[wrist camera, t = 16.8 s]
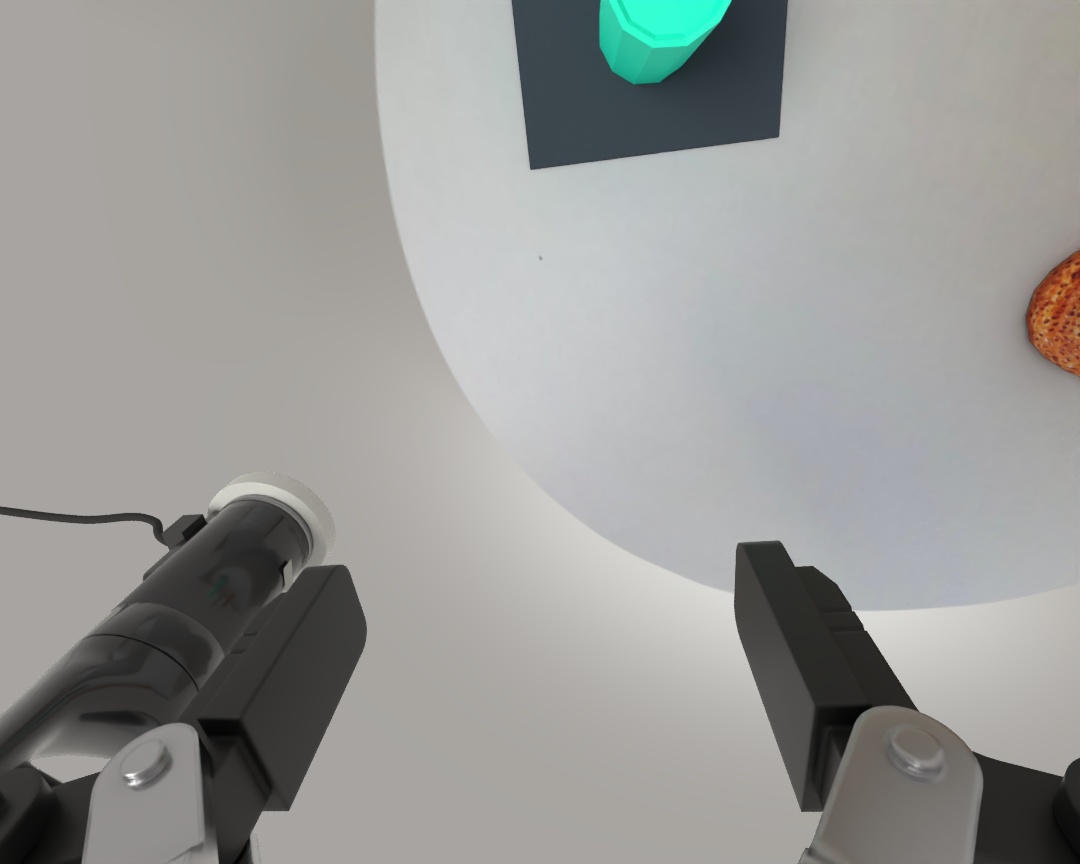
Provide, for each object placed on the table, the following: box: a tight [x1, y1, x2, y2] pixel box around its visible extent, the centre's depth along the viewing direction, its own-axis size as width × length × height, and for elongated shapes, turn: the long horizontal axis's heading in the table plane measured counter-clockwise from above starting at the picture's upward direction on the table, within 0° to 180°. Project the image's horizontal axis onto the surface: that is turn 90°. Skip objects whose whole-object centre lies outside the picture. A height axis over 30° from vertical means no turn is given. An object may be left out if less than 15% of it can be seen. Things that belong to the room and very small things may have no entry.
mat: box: [512, 0, 788, 169], centre depth 32 cm, size 16×14×1 cm
